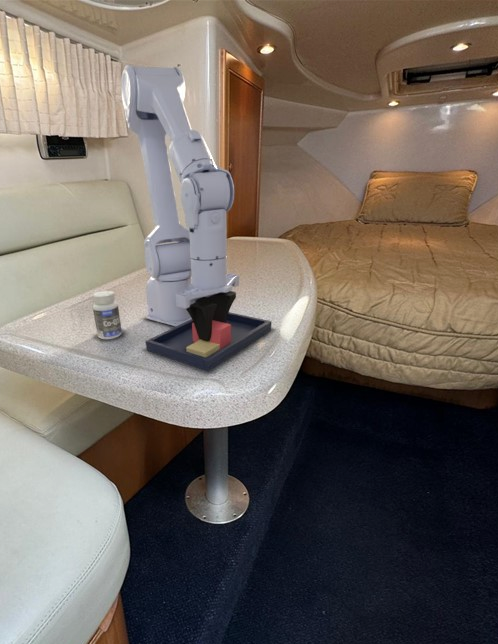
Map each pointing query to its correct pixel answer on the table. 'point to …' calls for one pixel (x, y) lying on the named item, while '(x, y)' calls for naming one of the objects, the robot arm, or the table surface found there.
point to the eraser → (217, 333)
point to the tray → (241, 336)
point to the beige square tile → (203, 348)
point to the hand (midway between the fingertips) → (211, 335)
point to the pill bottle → (106, 315)
